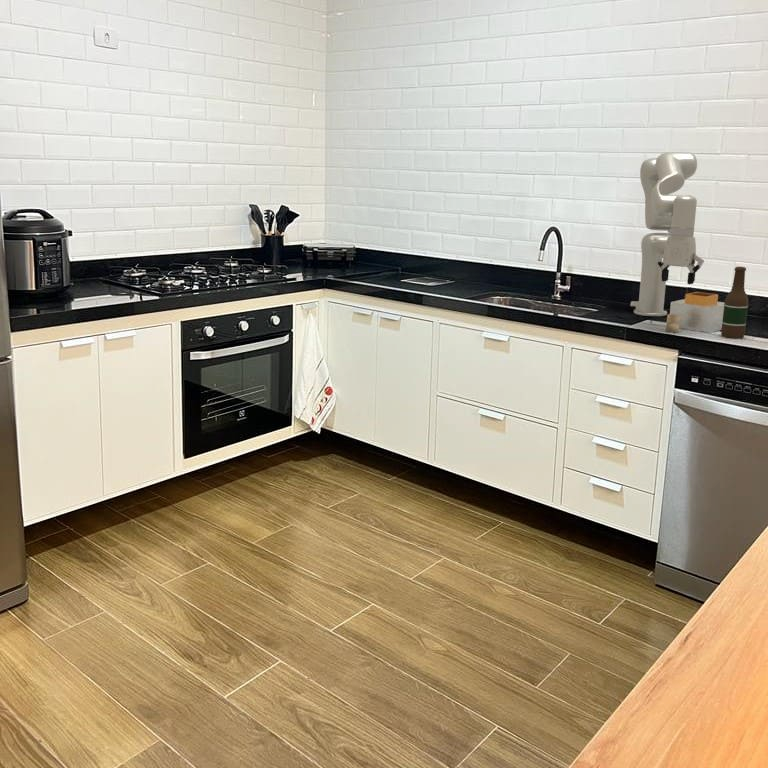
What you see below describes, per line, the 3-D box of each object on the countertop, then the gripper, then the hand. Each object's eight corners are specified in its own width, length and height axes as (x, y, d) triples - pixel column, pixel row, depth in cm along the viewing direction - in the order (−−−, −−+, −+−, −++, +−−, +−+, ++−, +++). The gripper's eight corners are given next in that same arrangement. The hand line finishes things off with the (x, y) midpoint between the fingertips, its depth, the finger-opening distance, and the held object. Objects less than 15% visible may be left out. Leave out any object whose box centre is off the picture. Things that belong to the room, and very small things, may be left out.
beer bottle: (747, 339, 285) (755, 268, 279) (723, 338, 286) (731, 268, 280) (741, 334, 292) (749, 265, 286) (718, 333, 294) (726, 265, 288)
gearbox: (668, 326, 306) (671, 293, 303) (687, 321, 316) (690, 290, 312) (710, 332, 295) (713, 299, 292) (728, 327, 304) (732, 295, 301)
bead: (663, 331, 297) (665, 314, 295) (669, 330, 300) (671, 313, 298) (674, 333, 294) (676, 316, 292) (681, 331, 297) (682, 315, 295)
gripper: (653, 231, 292) (649, 280, 296) (700, 234, 279) (695, 286, 284) (664, 230, 296) (660, 279, 301) (711, 233, 284) (706, 284, 288)
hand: (677, 282), depth 292 cm, fingers open, 9 cm apart
